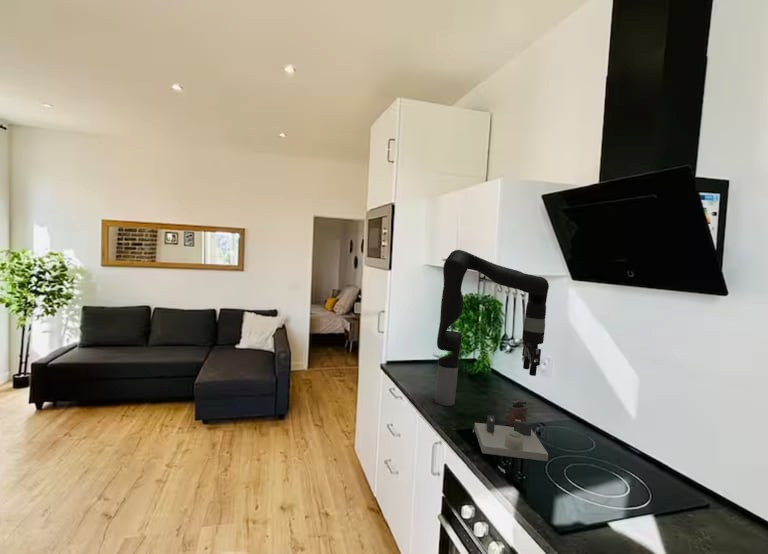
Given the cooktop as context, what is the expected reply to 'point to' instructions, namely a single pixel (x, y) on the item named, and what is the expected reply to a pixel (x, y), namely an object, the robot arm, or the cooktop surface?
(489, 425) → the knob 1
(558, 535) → the cooktop surface
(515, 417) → the lighter
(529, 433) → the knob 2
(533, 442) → the base plate
